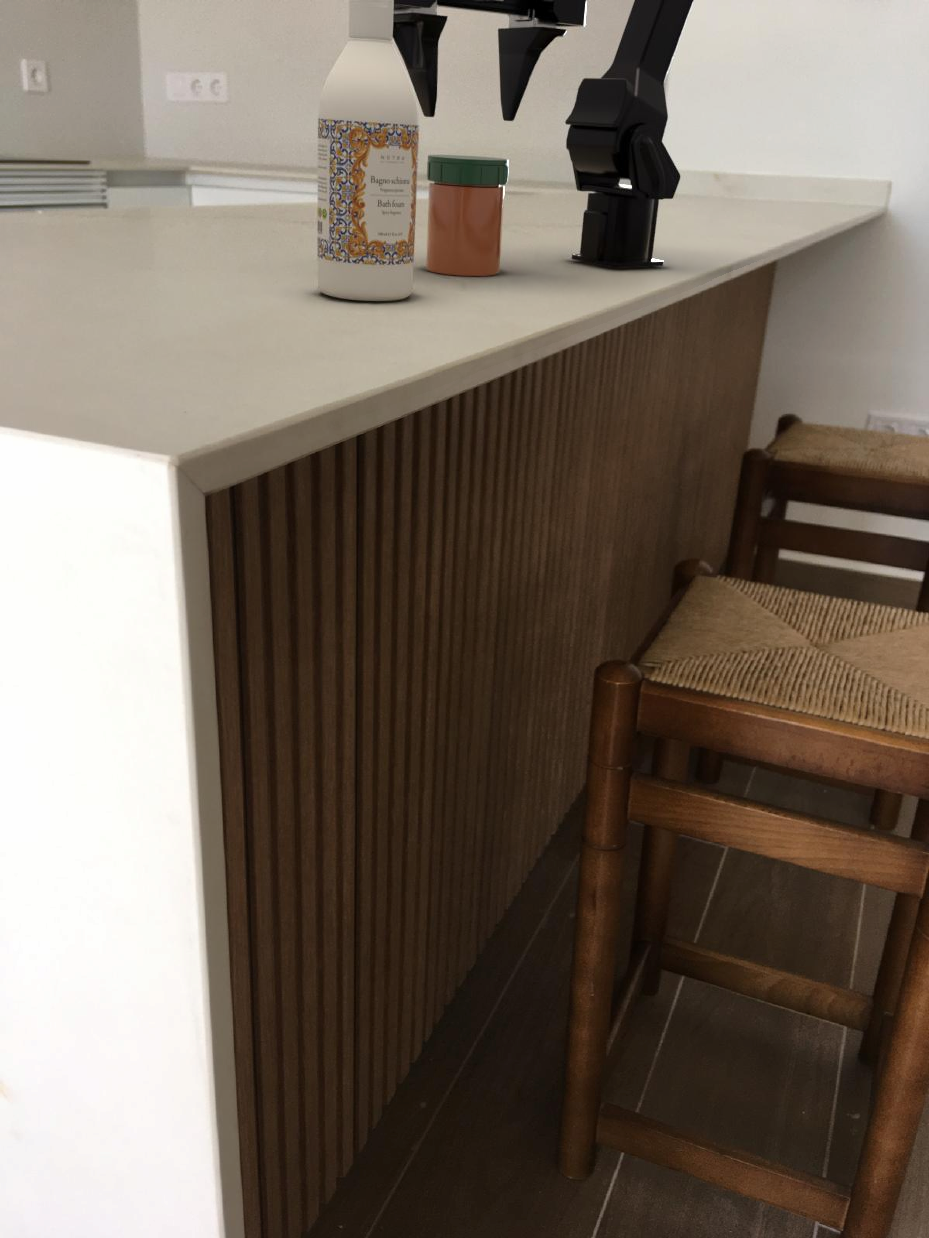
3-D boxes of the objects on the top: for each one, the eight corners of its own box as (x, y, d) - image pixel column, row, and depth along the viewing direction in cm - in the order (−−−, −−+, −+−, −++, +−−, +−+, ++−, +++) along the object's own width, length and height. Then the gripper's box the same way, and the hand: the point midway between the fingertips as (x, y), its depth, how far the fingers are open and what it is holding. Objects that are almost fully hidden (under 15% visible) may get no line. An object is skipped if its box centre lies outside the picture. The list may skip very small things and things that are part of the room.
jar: (471, 264, 97) (476, 162, 94) (514, 274, 93) (521, 167, 89) (412, 267, 94) (415, 160, 90) (453, 277, 89) (457, 166, 86)
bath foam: (344, 304, 74) (349, -30, 66) (301, 288, 80) (300, -24, 71) (429, 301, 78) (444, -17, 69) (383, 286, 83) (391, -11, 75)
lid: (476, 179, 94) (477, 156, 94) (523, 185, 90) (524, 161, 89) (411, 178, 91) (412, 154, 90) (456, 185, 86) (457, 159, 85)
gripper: (436, -143, 71) (427, 118, 77) (643, -101, 81) (620, 127, 87) (352, -122, 79) (351, 113, 85) (550, -86, 89) (535, 122, 95)
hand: (469, 119), depth 88 cm, fingers open, 8 cm apart
